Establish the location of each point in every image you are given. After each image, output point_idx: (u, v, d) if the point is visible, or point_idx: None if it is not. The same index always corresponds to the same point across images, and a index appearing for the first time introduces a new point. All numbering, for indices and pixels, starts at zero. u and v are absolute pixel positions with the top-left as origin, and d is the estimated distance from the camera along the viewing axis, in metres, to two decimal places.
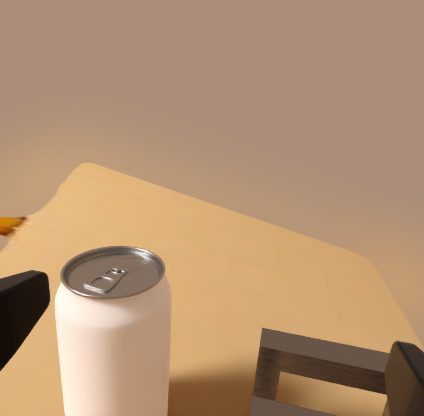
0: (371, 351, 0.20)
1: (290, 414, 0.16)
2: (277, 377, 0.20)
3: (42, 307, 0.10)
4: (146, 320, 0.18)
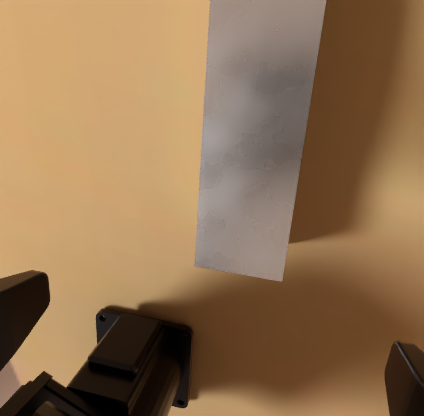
0: None
1: None
2: None
3: (42, 307, 0.10)
4: None
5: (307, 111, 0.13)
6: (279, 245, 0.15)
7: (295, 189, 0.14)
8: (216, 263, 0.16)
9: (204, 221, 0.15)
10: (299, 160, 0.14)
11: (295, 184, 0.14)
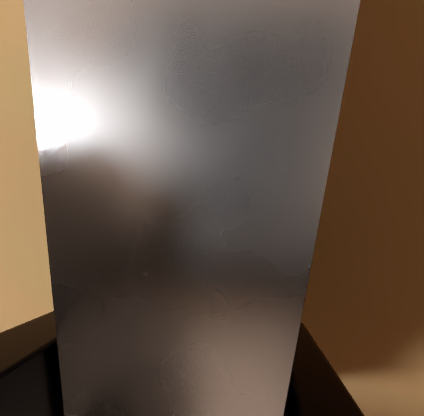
0: None
1: None
2: None
3: None
4: None
5: (323, 171, 0.04)
6: None
7: (288, 367, 0.05)
8: None
9: (78, 406, 0.07)
10: (299, 300, 0.05)
11: (288, 354, 0.05)
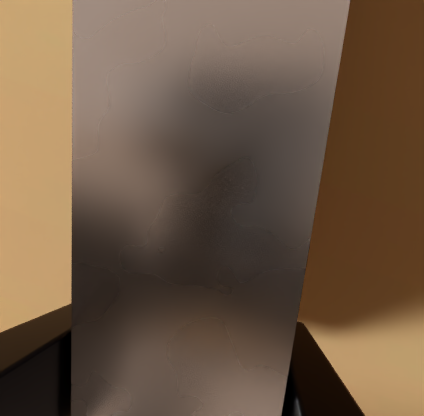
0: None
1: None
2: None
3: None
4: None
5: (321, 151, 0.05)
6: None
7: (290, 339, 0.06)
8: None
9: (86, 389, 0.07)
10: (300, 271, 0.05)
11: (290, 326, 0.06)
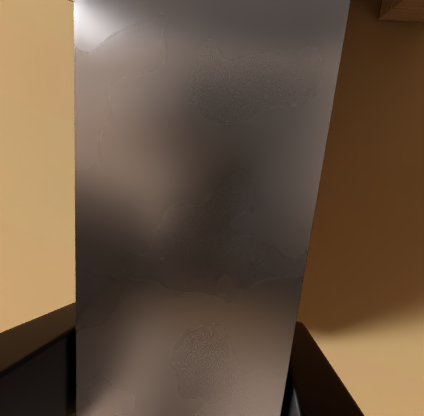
0: None
1: None
2: None
3: None
4: None
5: (318, 164, 0.05)
6: None
7: (289, 344, 0.06)
8: None
9: (90, 391, 0.07)
10: (298, 280, 0.06)
11: (288, 332, 0.06)
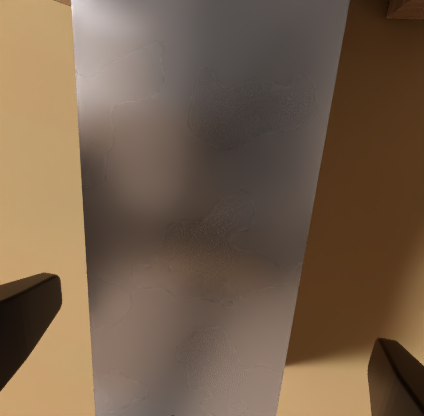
0: None
1: None
2: None
3: (54, 310, 0.10)
4: None
5: (312, 186, 0.05)
6: None
7: (285, 345, 0.06)
8: None
9: (106, 381, 0.08)
10: (294, 289, 0.06)
11: (285, 335, 0.06)
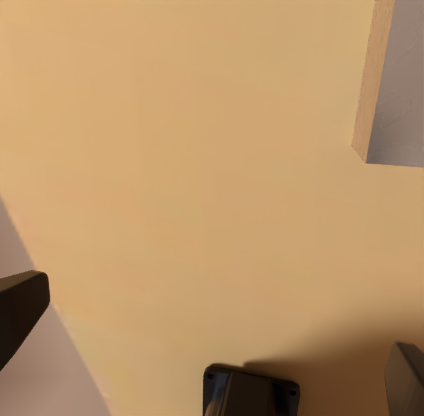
0: None
1: None
2: None
3: (42, 307, 0.10)
4: None
5: None
6: None
7: None
8: (394, 156, 0.14)
9: (385, 104, 0.13)
10: None
11: None
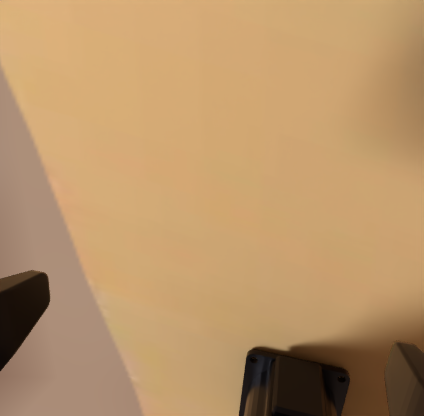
0: None
1: None
2: None
3: (42, 307, 0.10)
4: None
5: None
6: None
7: None
8: None
9: None
10: None
11: None
